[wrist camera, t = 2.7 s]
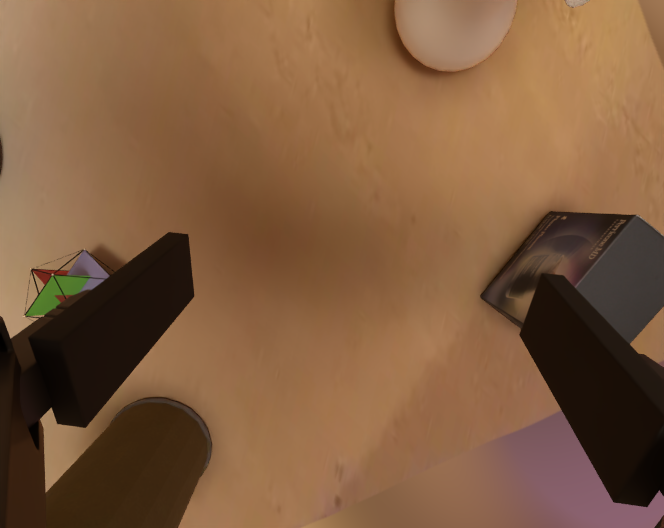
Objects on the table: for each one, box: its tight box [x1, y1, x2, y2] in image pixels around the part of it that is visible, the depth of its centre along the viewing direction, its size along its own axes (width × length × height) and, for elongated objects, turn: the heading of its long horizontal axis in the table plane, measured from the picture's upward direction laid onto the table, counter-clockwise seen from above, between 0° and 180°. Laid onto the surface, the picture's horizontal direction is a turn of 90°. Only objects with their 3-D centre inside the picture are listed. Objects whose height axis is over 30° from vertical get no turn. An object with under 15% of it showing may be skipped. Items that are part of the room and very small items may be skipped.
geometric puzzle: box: [23, 249, 113, 322], centre depth 33 cm, size 7×7×8 cm
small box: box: [481, 211, 664, 344], centre depth 32 cm, size 11×6×10 cm, turn 144°
